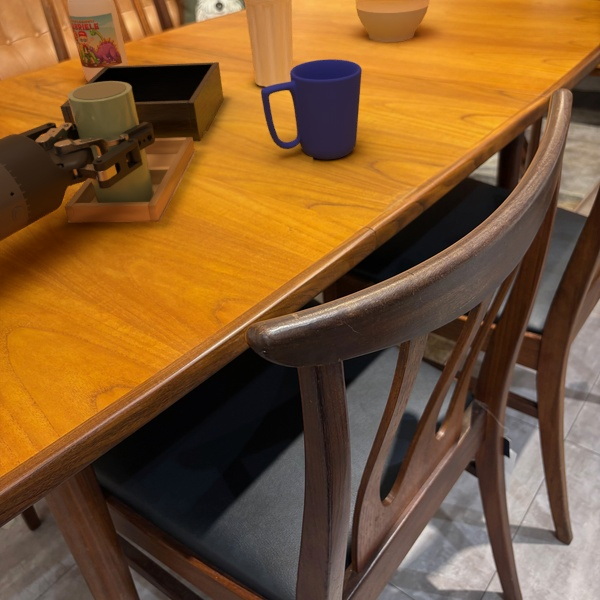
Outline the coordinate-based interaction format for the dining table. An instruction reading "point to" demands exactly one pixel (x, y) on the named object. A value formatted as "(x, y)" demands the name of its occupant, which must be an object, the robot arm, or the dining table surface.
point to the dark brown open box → (168, 96)
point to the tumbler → (111, 134)
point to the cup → (270, 40)
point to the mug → (321, 107)
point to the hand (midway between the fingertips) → (126, 126)
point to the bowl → (391, 18)
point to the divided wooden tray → (165, 177)
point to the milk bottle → (97, 35)
